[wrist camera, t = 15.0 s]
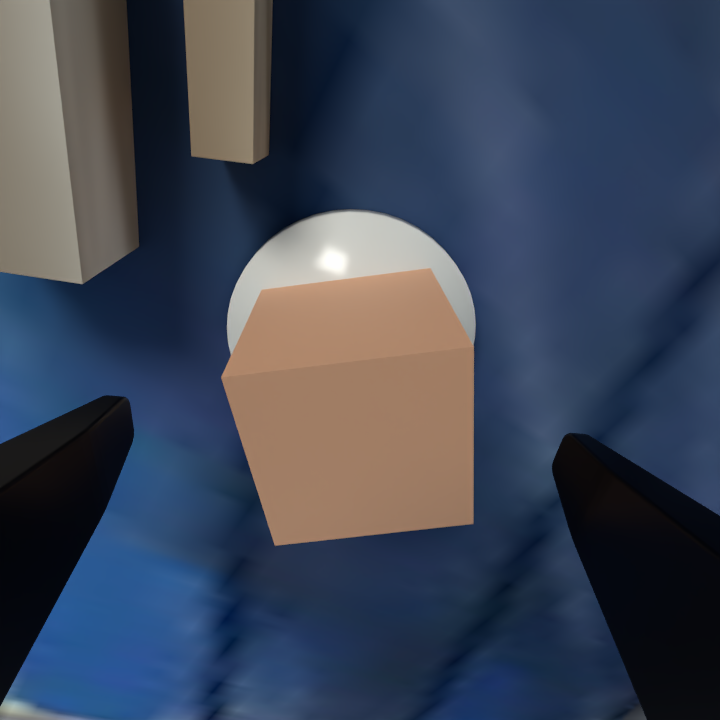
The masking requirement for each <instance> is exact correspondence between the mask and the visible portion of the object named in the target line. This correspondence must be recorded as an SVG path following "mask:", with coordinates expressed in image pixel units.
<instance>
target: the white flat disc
mask: <svg viewBox="0 0 720 720" xmlns="http://www.w3.org/2000/svg"><path fill="white" fill-rule="evenodd" d="M427 268H431V270H432V272H433V274H434V275H435V277H436V279H437V281H438V283H439V284H440V286H441V288H442V290H443V292H444V294H445V295H446V297H447V299H448V301H449V303H450V304H451V306H452V308H453V310H454V312H455V313H456V315H457V317H458V319H459V321H460V322H461V324H462V326H463V328H464V330H465V332H466V333H467V335H468V337H469V339H470V341H471V342H472V344H473V345H474V340H475V327H476V322H475V311H474V305H473V301H472V297H471V293H470V291H469V288H468V286H467V283H466V281H465V279H464V277H463V276H462V274H461V272H460V270H459V269H458V267H457V265H456V264H455V263H454V261H453V260H452V259H451V257H450V256H449V255H448V254H447V252H446V251H445V250H444V249H443V248H442V246H440V245H439V244H438V243H437V242H436V241H435V240H434V239H433V238H432V237H431V236H429V235H428V234H427V233H425V232H424V231H422V230H421V229H419V228H418V227H416V226H414V225H413V224H411V223H409V222H407V221H405V220H403V219H400V218H397V217H394V216H391V215H388V214H385V213H381V212H376V211H370V210H359V209H344V210H332V211H327V212H323V213H318V214H314V215H312V216H309V217H306V218H304V219H301V220H298V221H296V222H295V223H293V224H291V225H289V226H287V227H285V228H283V229H282V230H281V231H279V232H278V233H277V234H275V235H274V236H272V237H271V238H270V239H269V240H268V241H267V242H266V243H265V244H264V245H263V246H262V247H261V248H260V249H259V250H258V251H257V252H256V253H255V255H254V256H253V257H252V259H251V260H250V261H249V263H248V264H247V266H246V267H245V269H244V271H243V273H242V274H241V276H240V278H239V280H238V282H237V283H236V286H235V289H234V291H233V294H232V297H231V300H230V305H229V310H228V317H227V336H228V345H229V349H230V353H231V355H232V353H233V351H234V348H235V346H236V344H237V342H238V340H239V338H240V335H241V333H242V331H243V329H244V327H245V324H246V322H247V320H248V318H249V316H250V314H251V311H252V309H253V307H254V305H255V303H256V300H257V298H258V296H259V294H260V292H261V290H263V289H271V288H278V287H286V286H294V285H302V284H310V283H318V282H325V281H333V280H341V279H349V278H357V277H364V276H372V275H380V274H388V273H396V272H403V271H411V270H419V269H427Z"/></svg>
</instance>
